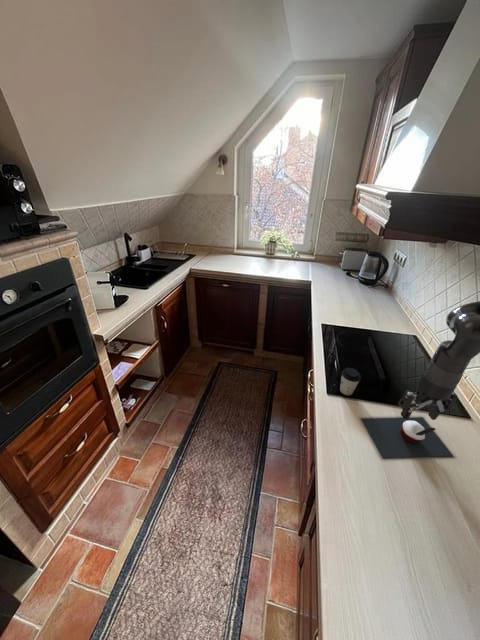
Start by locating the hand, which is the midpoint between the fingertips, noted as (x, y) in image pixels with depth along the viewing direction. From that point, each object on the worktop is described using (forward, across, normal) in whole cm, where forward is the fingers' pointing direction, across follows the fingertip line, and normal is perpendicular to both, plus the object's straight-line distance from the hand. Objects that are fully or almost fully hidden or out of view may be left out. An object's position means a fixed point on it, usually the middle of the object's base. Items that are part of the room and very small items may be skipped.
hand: (417, 417), depth 76 cm
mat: (+11, 0, +1) cm, 11 cm away
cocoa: (+10, +1, 0) cm, 10 cm away
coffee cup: (+11, -11, +21) cm, 26 cm away
